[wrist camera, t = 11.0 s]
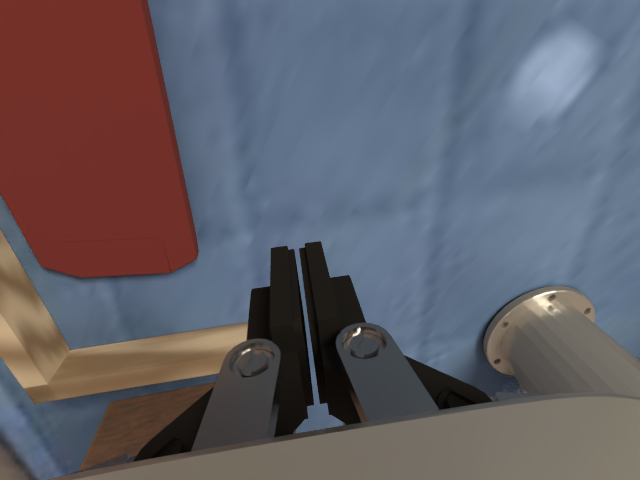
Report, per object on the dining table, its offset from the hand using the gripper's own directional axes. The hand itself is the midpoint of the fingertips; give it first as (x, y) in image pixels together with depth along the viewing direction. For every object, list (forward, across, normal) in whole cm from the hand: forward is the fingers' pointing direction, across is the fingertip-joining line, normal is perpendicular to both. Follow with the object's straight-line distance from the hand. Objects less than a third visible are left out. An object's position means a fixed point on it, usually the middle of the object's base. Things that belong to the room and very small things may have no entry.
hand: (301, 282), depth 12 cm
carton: (+18, +14, -4) cm, 23 cm away
